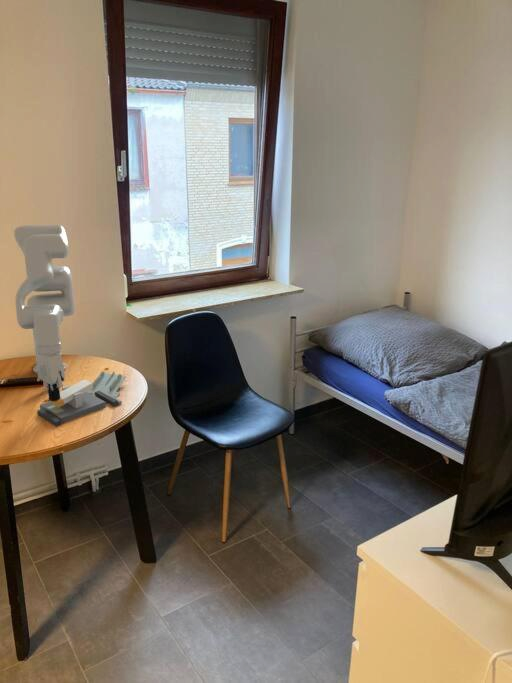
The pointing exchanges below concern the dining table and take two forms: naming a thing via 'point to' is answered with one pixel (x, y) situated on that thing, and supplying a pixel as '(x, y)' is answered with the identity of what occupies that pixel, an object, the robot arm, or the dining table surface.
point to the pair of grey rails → (98, 394)
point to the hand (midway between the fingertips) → (54, 399)
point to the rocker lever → (72, 392)
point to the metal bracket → (107, 384)
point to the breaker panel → (75, 406)
